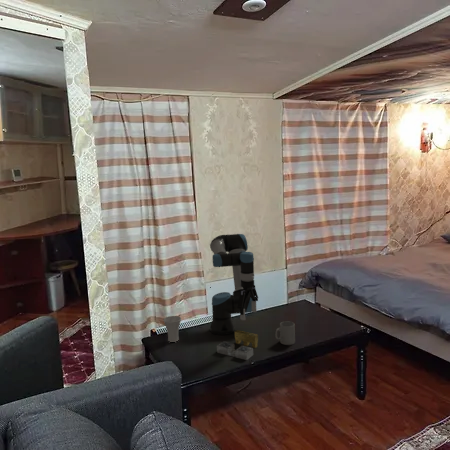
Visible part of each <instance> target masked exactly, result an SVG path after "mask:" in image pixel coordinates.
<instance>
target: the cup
mask: <svg viewBox="0 0 450 450" xmlns="http://www.w3.org/2000/svg"><path fill="white" fill-rule="evenodd" d="M162 321H163V322H164V326H165V328H166V331H167V337H168V338H167V342H168V341H170V342H175V343H177V342H176V341H178V340H179V341H180V337H179V331H180V330H179V329H180V325H181V322H182V317H181V316H177V315H170V316H169V315H168V316H166V317H164V318H163V320H162ZM179 341H178V342H179ZM170 342H169V343H170Z"/></svg>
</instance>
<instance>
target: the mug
mask: <svg viewBox="0 0 450 450" xmlns="http://www.w3.org/2000/svg"><path fill="white" fill-rule="evenodd" d="M295 327H296V325H295V323H294V322H293V321H288V320H287V321H285V320H284V321H282V322H280V323H279V327H278V328H276V329H275V332H274V334H275V339H276V340H278V341H279V343H280V344H282V345H284V346H291V345H294V344H295V343H296V334H295V333H296V330H295V329H296V328H295ZM278 332H279V336H278Z"/></svg>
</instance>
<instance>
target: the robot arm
mask: <svg viewBox="0 0 450 450" xmlns="http://www.w3.org/2000/svg"><path fill="white" fill-rule="evenodd" d="M246 237H247V236H246V235H245V234H243V233H234V234H233V233H232V234H221V235H217V236H215V237H214V238H213V239H212V240H211V241H210V244H209V247H210V250H211V252H212V253H213V254H212V266H213V267H214V268H223V267H232V275H233V276H232V278H233V284H234V290H233V292H232V294H231V293H230V292H225V291H224V292H218V293H216V294H214V295H213V296H212V297H211V306H212V308H211V309H212V311H211V312H212V321H211V324H210V333H211V334H213V335H218V336H225V335H230V334H232V333H235V331H236V330H235V324H234V322H233V319H232V315H236V314H240V315H239V317H240V318H239V319H240V321H246V314H247V313H257V302H259V296H258V293H257V289H256V285H255V280H254V279H255V267H254V266H255V265H254V260H255V257H254V253H253V252H251V251H248V249H249V247H248V246H249V245H248V240H247V238H246Z"/></svg>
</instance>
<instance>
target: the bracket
mask: <svg viewBox="0 0 450 450" xmlns="http://www.w3.org/2000/svg"><path fill="white" fill-rule="evenodd" d="M235 348H236V347H235V343H233V342H230V341H226V340H223V341H222V342H220V343H219V344H217V345H216V352H217V354H221V355H225V356H228V357H233V358H237V359H240V360H245V361H249V359H250V358H251V357H253V356H254V347H252V346H245V345H240V346H239V347H238V348H236V349H235Z"/></svg>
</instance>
